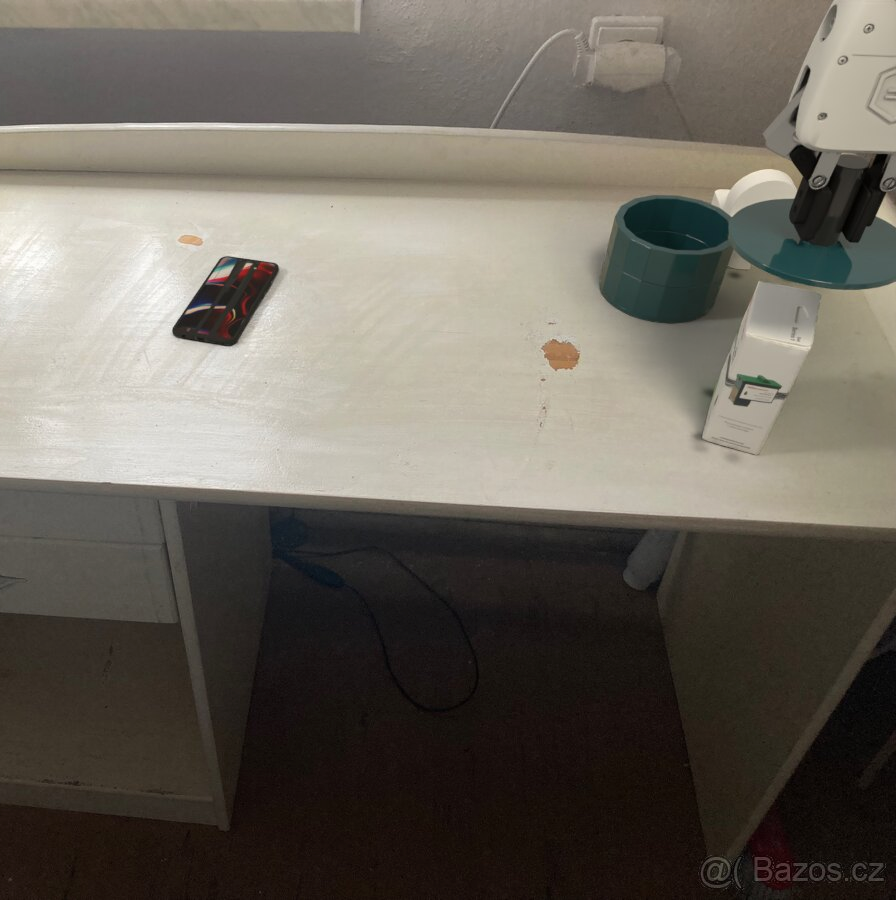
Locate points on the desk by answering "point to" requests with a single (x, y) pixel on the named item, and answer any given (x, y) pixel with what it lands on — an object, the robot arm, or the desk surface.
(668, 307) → the pot
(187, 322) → the smartphone
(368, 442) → the desk surface
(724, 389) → the ink box
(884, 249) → the lid
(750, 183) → the slotted bracket
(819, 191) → the robot arm
